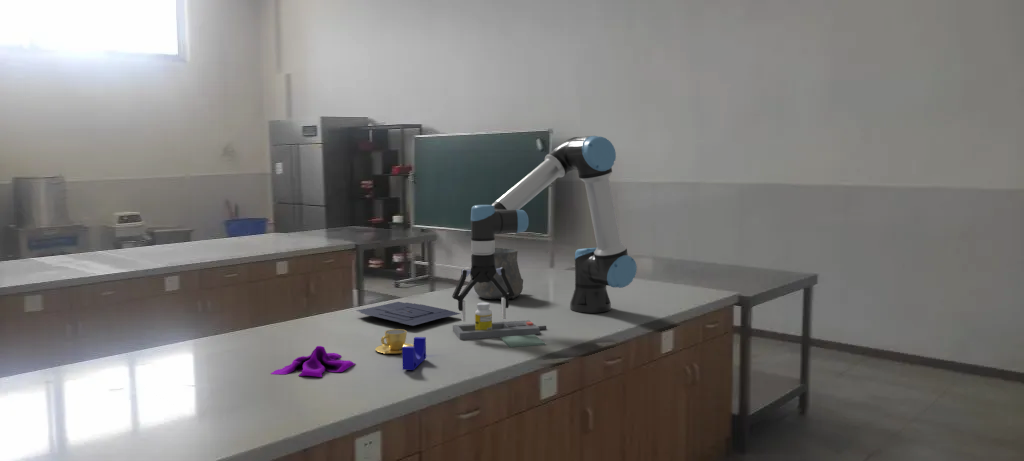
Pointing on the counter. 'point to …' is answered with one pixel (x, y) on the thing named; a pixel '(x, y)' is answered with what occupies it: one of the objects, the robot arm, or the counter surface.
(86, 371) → the counter surface
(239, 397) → the counter surface
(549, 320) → the counter surface
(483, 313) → the supplement bottle
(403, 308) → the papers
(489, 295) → the vessel
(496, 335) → the rectangular frame
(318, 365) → the cloth
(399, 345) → the cup
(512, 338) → the rubber mat
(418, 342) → the cable clip
